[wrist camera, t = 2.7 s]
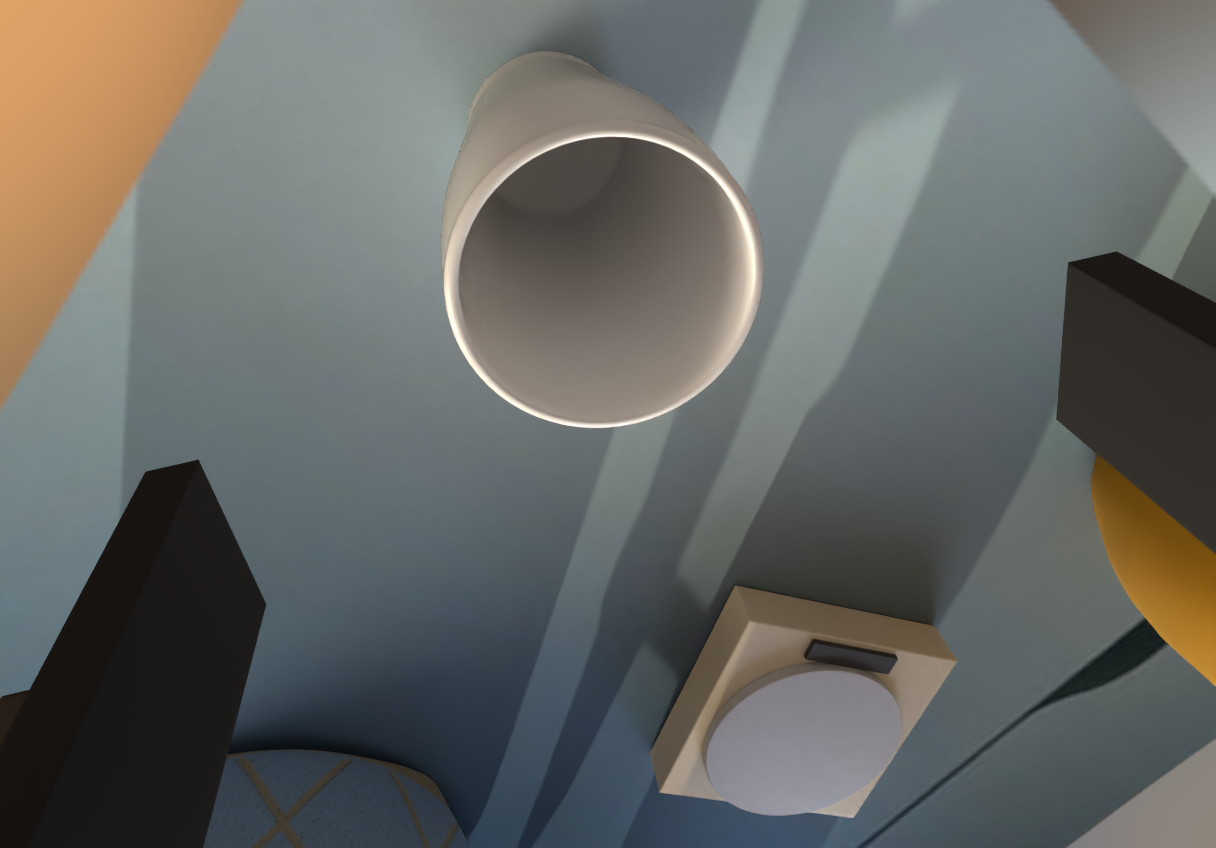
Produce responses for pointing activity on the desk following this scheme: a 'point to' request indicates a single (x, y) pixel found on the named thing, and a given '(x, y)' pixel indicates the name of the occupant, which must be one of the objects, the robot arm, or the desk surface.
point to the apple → (1159, 566)
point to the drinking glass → (593, 247)
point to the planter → (327, 804)
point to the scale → (797, 705)
